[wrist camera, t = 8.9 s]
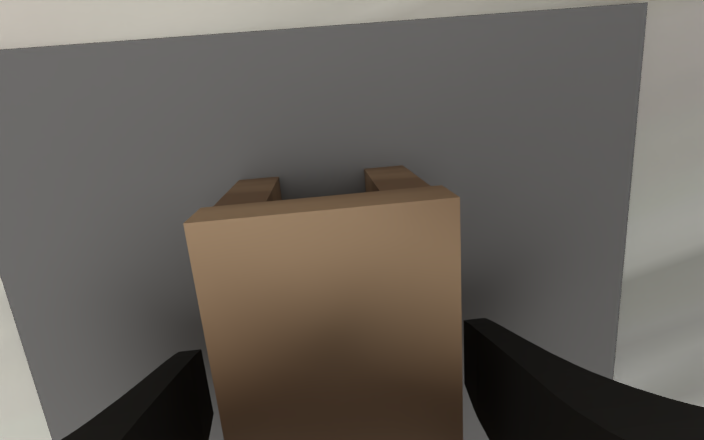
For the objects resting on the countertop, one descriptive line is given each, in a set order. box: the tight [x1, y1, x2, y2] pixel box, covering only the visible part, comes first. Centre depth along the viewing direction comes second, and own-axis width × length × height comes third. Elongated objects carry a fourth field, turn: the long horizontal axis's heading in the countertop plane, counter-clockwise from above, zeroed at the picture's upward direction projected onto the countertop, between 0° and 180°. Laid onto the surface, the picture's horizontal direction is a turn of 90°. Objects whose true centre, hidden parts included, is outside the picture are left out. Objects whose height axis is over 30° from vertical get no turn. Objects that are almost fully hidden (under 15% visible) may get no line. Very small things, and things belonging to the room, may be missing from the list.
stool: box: [183, 165, 463, 440], centre depth 12 cm, size 10×5×6 cm, turn 5°
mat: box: [0, 3, 648, 440], centre depth 15 cm, size 20×18×1 cm
